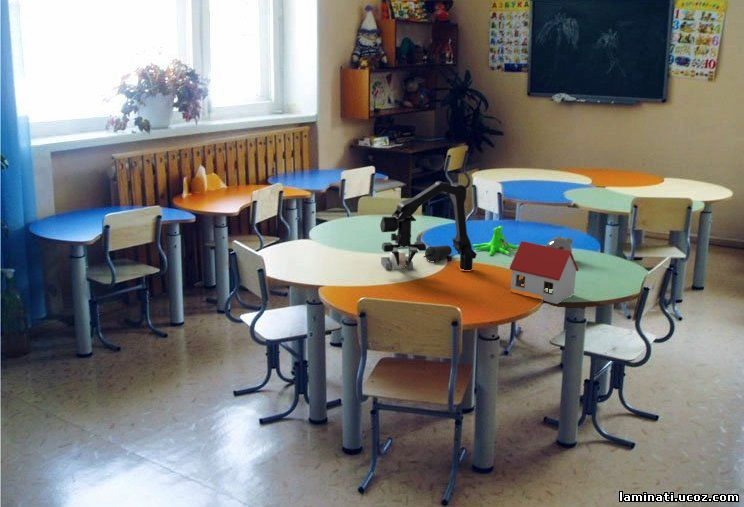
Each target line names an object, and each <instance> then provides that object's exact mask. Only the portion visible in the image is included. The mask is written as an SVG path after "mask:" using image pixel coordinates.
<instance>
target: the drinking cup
mask: <svg viewBox="0 0 744 507" xmlns="http://www.w3.org/2000/svg"><path fill="white" fill-rule="evenodd" d="M452 253H453V250H452V247H451V246H450V245H447V244H446V245H438V246H437V245H436V246H433V245H431V246H428V247H426V250H425V251H424V255H423V258H425V259H426V260H427V261H428V260H429V261H428V262H430V261H434V262H433V263H436V262H438V261H440V260H441V259H443V258H446V257H448V256H450V255H451V254H452Z"/></svg>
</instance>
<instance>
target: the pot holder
mask: <svg viewBox="0 0 744 507" xmlns="http://www.w3.org/2000/svg"><path fill="white" fill-rule="evenodd" d="M408 256H409V255H408ZM408 256H406V255H405V260H406V266H407V267H406V266H405V267H406V269H408V270H413V269H414V268H413V267H414V262H413V260H412V261H411V263H410V265H409V266H408ZM380 258H381V259H380V264H381V265H382V267H383V269H384V270H385V269H386V270H385V271H389V270H391V268H390V256H385V257H384V256H382V257H380ZM412 268H413V269H412Z"/></svg>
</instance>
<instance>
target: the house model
mask: <svg viewBox="0 0 744 507" xmlns="http://www.w3.org/2000/svg"><path fill="white" fill-rule="evenodd" d="M518 246H519V247H518V249H516V252H515V254H514V257H513V259H512V261H511V263H510V266H509V270H511V281H510V290H511V289H514V290H518V291H522V292H527V293H531V294H535V295H538V296H541V297H542V298H543V299H544V302H546V303H547V302H548V303H551V304H556V305H558V304H559V303H561V302H560V301H562V300H564V299H565V298H567V297H569V296H571V295H572V294H574V295H575V286H576V275H577V274H576V273H577V272H579V268H578V265H577V263H576V260H575V258H574V257H575V256H574V255H573V252H571V251H568V250H563V249H564V247H559V249H558V248H553V247H548V246H547V245H543V244H537V243H533V242H527V241H525V240H524V241H523V240H521V241H520V243H519V245H518ZM524 283H525V284H524ZM521 284H524V286H521ZM545 288H548V292H545V291H544V289H545ZM549 289H553V291H552V293H549ZM571 297H572V296H571ZM569 298H570V297H569ZM564 301H565V300H564ZM562 302H563V301H562Z"/></svg>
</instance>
